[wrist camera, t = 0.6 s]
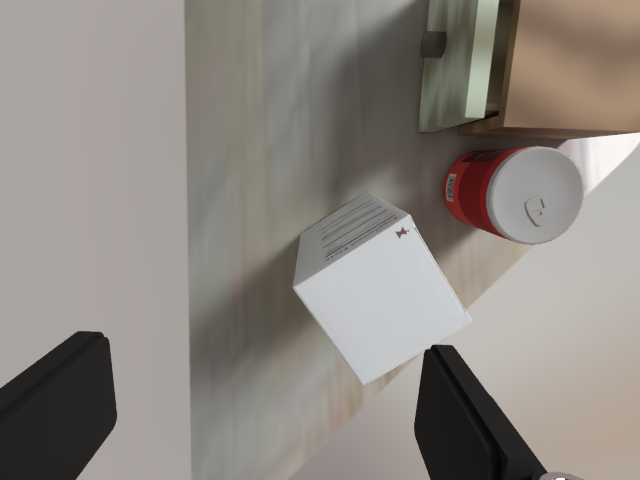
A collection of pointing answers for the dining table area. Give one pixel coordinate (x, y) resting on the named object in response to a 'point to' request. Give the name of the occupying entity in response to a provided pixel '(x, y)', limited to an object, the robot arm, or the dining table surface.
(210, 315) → the dining table surface
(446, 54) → the drawer
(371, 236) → the supplement box
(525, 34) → the cabinet
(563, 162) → the canned food
